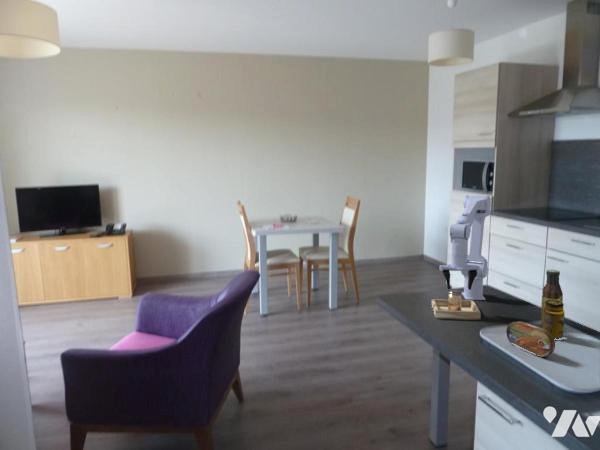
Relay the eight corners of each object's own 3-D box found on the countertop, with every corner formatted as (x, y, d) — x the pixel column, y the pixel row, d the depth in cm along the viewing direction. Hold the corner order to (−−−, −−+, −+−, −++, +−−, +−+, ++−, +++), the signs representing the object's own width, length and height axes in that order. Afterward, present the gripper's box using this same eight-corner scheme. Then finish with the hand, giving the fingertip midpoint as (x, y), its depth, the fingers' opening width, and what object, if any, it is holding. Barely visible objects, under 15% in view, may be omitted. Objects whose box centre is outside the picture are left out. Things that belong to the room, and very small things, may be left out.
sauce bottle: (564, 329, 146) (567, 273, 143) (544, 328, 147) (547, 273, 145) (557, 322, 153) (560, 268, 150) (538, 321, 154) (540, 268, 151)
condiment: (569, 339, 138) (571, 304, 136) (545, 342, 137) (547, 306, 135) (553, 331, 145) (555, 297, 143) (530, 333, 144) (532, 299, 142)
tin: (505, 343, 137) (506, 318, 136) (512, 341, 139) (512, 316, 137) (549, 362, 124) (550, 334, 123) (556, 359, 125) (557, 332, 124)
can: (447, 308, 168) (447, 289, 167) (460, 309, 167) (460, 290, 166) (448, 313, 164) (449, 293, 163) (462, 313, 163) (462, 293, 161)
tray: (431, 306, 174) (431, 299, 173) (472, 307, 171) (472, 300, 170) (435, 318, 160) (435, 311, 160) (480, 320, 157) (480, 312, 157)
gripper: (441, 257, 160) (441, 291, 162) (481, 257, 157) (481, 292, 160) (438, 252, 167) (438, 286, 169) (477, 253, 164) (477, 286, 166)
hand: (459, 288), depth 165 cm, fingers open, 7 cm apart
